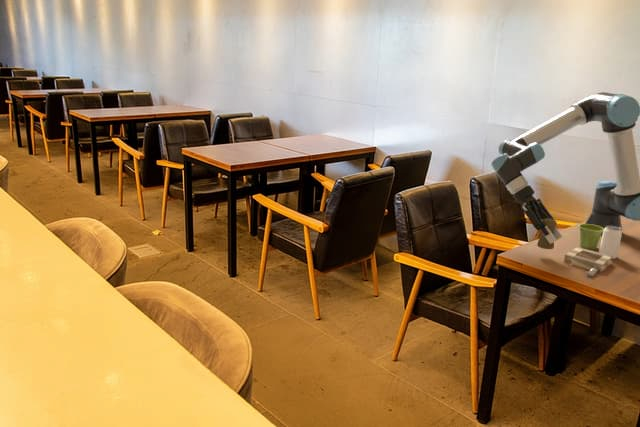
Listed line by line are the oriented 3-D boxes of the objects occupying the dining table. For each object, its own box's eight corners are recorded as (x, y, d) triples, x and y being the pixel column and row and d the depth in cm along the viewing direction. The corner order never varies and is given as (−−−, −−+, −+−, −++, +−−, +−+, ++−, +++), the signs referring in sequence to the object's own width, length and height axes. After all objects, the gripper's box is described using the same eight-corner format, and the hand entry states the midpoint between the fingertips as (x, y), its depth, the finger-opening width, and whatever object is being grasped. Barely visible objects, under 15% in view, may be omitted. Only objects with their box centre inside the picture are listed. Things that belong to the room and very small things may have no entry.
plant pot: (585, 251, 216) (589, 231, 213) (570, 243, 225) (574, 223, 222) (605, 251, 218) (609, 230, 215) (589, 242, 227) (593, 223, 224)
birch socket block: (575, 254, 213) (577, 246, 212) (611, 263, 204) (612, 256, 203) (563, 262, 204) (565, 254, 203) (600, 272, 195) (601, 265, 194)
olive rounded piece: (533, 244, 208) (537, 217, 205) (545, 242, 211) (549, 216, 207) (545, 250, 203) (549, 222, 200) (557, 248, 205) (562, 220, 202)
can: (618, 260, 208) (625, 231, 205) (600, 258, 209) (607, 229, 206) (613, 254, 214) (619, 225, 211) (596, 252, 216) (602, 224, 212)
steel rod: (595, 268, 199) (596, 263, 198) (600, 270, 197) (601, 265, 197) (585, 276, 192) (586, 270, 191) (591, 277, 190) (592, 272, 190)
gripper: (523, 191, 218) (557, 239, 212) (502, 199, 205) (539, 250, 200) (537, 180, 213) (573, 230, 207) (518, 188, 200) (555, 241, 195)
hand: (556, 240), depth 204 cm, fingers closed on olive rounded piece, 5 cm apart
